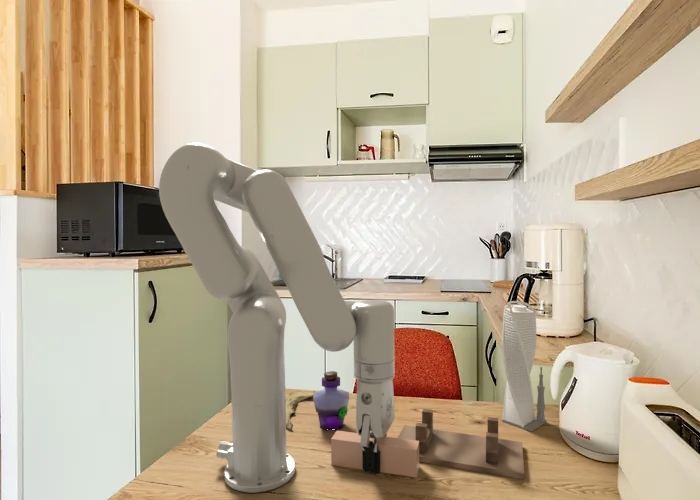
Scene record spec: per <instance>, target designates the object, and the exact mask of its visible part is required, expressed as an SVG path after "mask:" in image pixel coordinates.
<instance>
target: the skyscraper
mask: <svg viewBox="0 0 700 500" xmlns="http://www.w3.org/2000/svg"><path fill="white" fill-rule="evenodd" d="M536 316H537V315H536V310H535V309H534V308H533V306H532V305H531V304H529V303H528V302H525V301H519V300H511V301H508V302H507V304H506V305H504V306H503V315H502V328H501V347H502V348H501V349H502V359H503V365H504V371H505V375H506V381H505V387H504V389H505V390H504V396H503V404H502V405H503V406H502V413H501V422H503V423H506V424H508V425H510V426H515V427H517V428H520V429H522V430H524V431H528V432H533V431H536V430H537V429H538V428H540V427H542V426H543V425H544V424H546V423H547V419H546V415H545V410H546V404H545V387H546V386H545V385H544V381H543V380H544V379H543V378H544V374H543V366H540V372H539V374H538V375H539V376H538V377H539V382H538V385H537V403H536V411H537V412H536V413H535V402H534V394H533V386H532V381H531V373H532V369H533V365H534V360H535V355H536V348H537V317H536ZM535 415H536V416H535Z"/></svg>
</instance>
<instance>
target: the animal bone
mask: <svg viewBox="0 0 700 500" xmlns="http://www.w3.org/2000/svg"><path fill="white" fill-rule="evenodd" d="M315 392H316V390H314V391H312V392H308V391H307V392H306V391H300V390H296V391H291V392H290V393H289V394H288V397H287V399H286V430H289V431H292V429H293V428H294V424H293V423H292V422H291V416H292V414H295V413H296V408H297V407H298V406H299V404H298V403H299V402H302V401H304V400H306V399H308V398H311V397H312V398H313V395H314V393H315Z"/></svg>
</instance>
